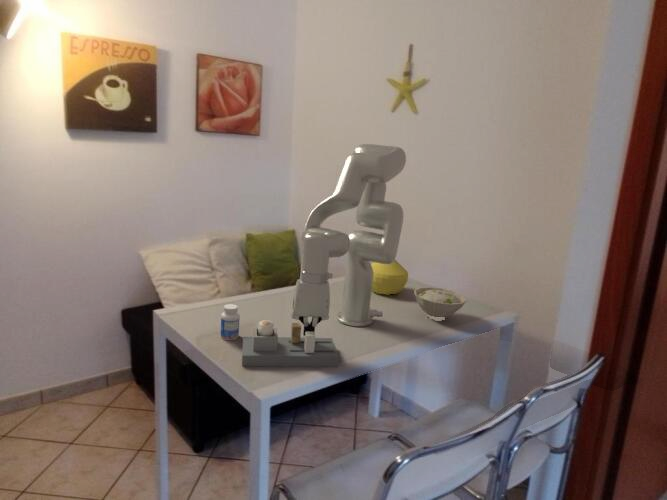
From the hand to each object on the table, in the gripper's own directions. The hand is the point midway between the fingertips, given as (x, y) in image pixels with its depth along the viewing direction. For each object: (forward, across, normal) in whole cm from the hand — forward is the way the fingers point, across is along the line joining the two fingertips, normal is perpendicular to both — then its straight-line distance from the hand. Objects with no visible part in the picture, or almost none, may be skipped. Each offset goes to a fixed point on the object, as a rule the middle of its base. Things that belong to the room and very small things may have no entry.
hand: (308, 337), depth 136 cm
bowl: (+4, -52, -30) cm, 60 cm away
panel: (+4, +6, +3) cm, 8 cm away
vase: (+4, -40, -59) cm, 71 cm away
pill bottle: (+5, +22, -10) cm, 25 cm away
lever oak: (+1, +4, 0) cm, 4 cm away
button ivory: (-1, +13, +3) cm, 13 cm away
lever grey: (+1, +1, +6) cm, 6 cm away
